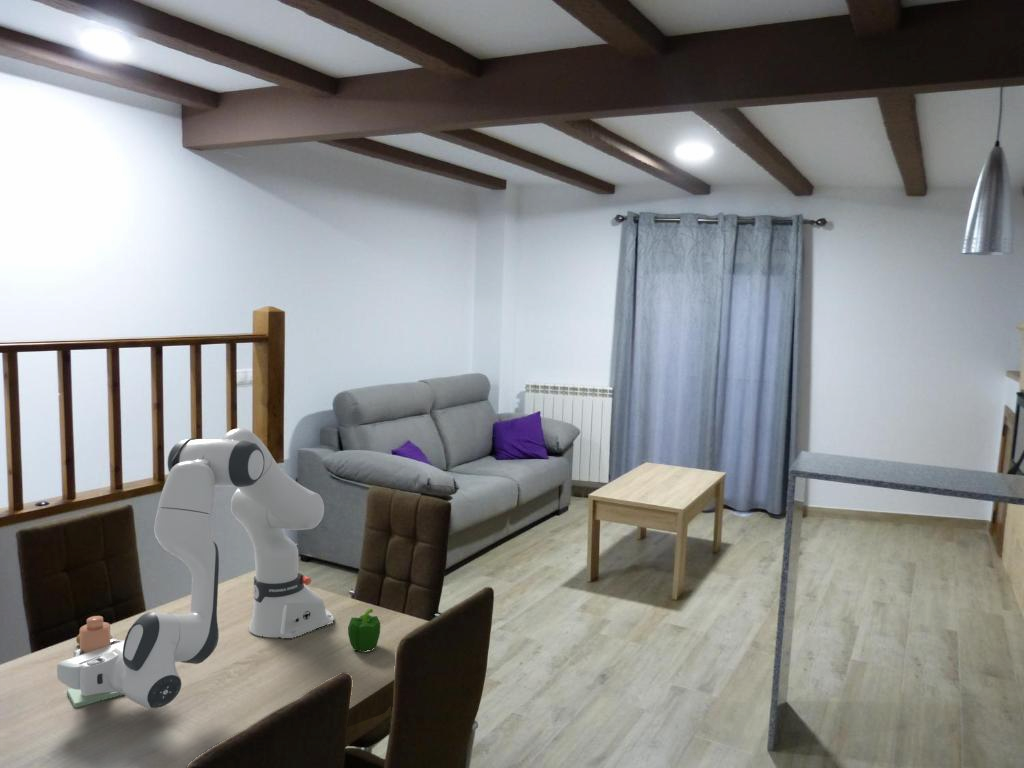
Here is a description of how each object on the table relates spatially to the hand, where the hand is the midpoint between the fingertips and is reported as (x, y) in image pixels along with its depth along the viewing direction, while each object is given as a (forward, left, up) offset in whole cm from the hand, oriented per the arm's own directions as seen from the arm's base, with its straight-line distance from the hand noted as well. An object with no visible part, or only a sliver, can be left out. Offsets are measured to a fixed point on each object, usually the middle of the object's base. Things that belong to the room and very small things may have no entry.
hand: (93, 647), depth 177 cm
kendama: (-5, -19, -11) cm, 23 cm away
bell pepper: (-60, +15, -11) cm, 63 cm away
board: (-5, +1, -10) cm, 12 cm away
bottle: (0, +1, -8) cm, 8 cm away
